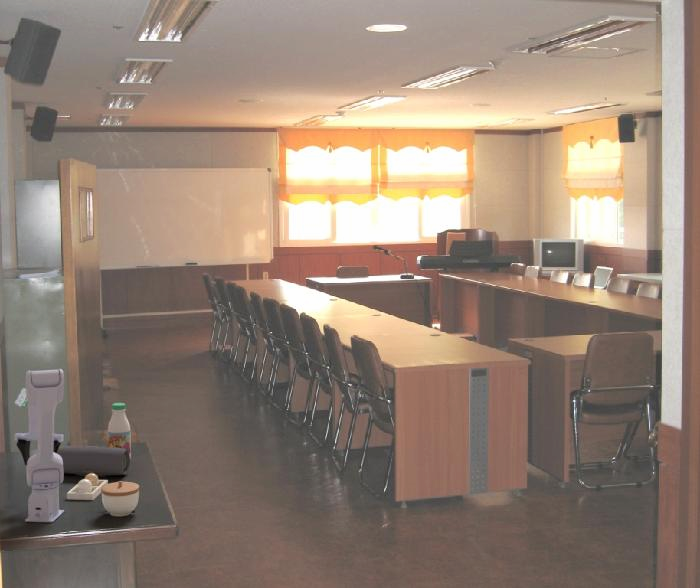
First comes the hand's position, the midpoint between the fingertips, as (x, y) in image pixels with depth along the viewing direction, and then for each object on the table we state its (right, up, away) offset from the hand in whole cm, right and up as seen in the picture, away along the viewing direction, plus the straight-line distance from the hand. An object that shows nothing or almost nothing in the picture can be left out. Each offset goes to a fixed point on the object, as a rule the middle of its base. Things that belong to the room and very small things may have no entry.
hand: (39, 464), depth 294 cm
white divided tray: (+13, -10, +5) cm, 17 cm away
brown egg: (+13, -9, +8) cm, 18 cm away
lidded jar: (+27, -12, -12) cm, 32 cm away
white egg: (+13, -10, +2) cm, 16 cm away
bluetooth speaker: (+10, -8, +24) cm, 27 cm away
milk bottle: (+14, -6, +43) cm, 46 cm away
